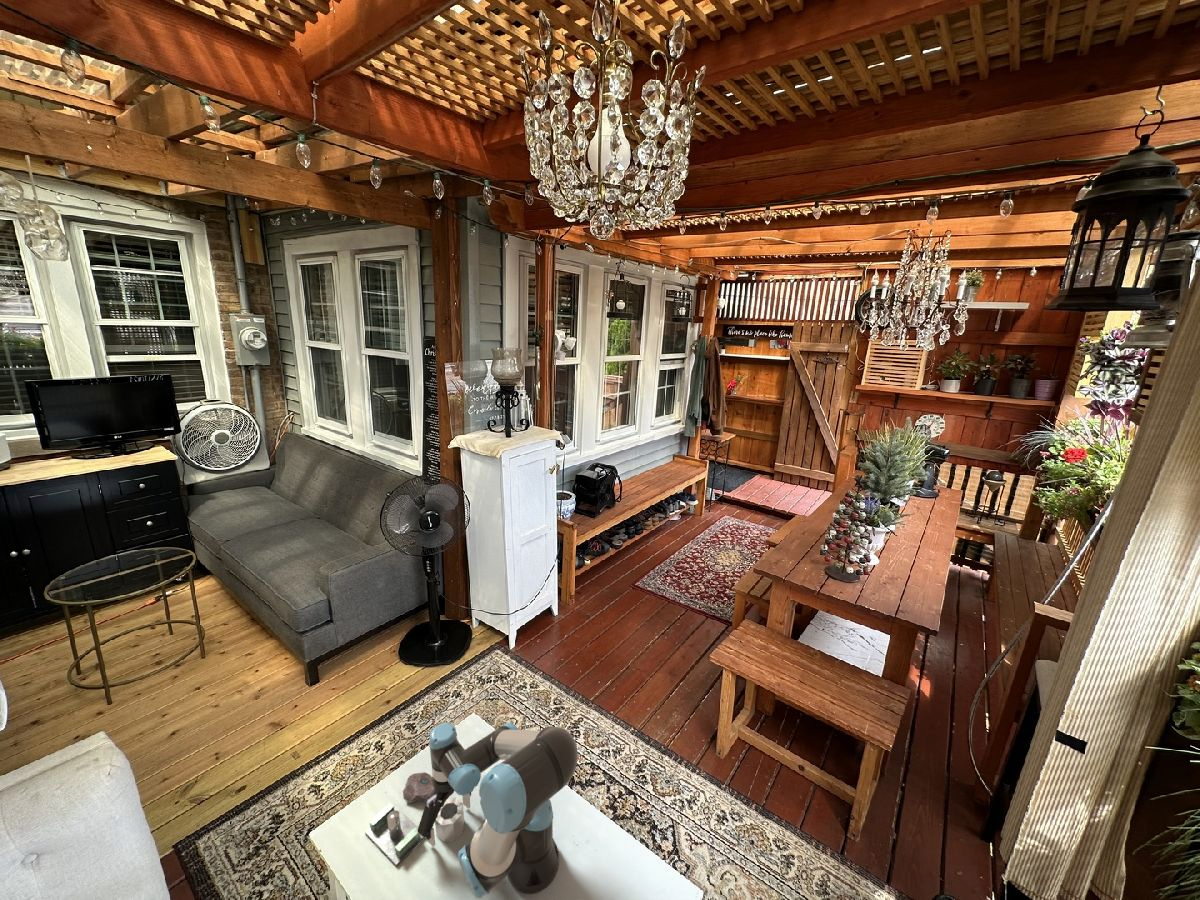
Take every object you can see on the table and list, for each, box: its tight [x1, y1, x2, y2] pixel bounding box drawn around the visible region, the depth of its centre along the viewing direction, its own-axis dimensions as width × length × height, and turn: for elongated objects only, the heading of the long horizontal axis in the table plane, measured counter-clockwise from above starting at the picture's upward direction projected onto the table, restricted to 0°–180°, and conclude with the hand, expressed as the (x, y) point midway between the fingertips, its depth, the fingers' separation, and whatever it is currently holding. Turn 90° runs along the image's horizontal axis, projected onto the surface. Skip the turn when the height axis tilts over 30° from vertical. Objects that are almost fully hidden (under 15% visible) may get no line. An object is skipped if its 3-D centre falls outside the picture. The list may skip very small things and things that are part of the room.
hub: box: [434, 797, 465, 843], centre depth 146 cm, size 8×8×7 cm
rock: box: [402, 771, 435, 804], centre depth 157 cm, size 8×11×5 cm
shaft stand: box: [364, 802, 426, 868], centre depth 143 cm, size 16×10×8 cm, turn 56°
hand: (449, 823), depth 147 cm, fingers open, 13 cm apart
